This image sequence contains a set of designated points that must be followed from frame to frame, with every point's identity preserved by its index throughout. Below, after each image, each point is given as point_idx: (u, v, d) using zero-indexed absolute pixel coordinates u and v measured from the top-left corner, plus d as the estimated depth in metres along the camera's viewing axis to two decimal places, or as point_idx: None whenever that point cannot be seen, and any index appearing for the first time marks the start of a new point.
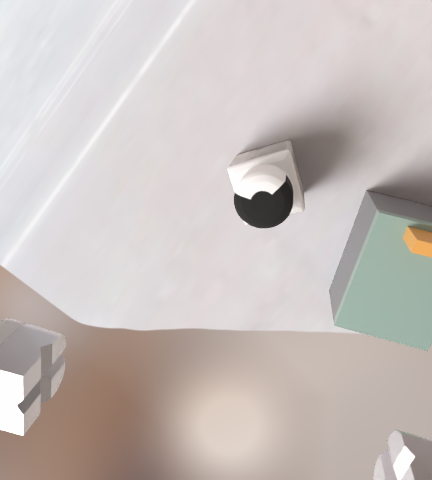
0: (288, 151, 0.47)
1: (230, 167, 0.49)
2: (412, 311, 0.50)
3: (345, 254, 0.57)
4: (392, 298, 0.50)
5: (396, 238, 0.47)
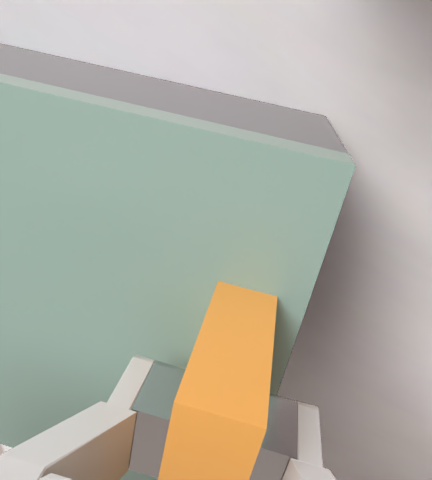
0: None
1: None
2: None
3: (101, 69, 0.16)
4: None
5: (213, 257, 0.10)
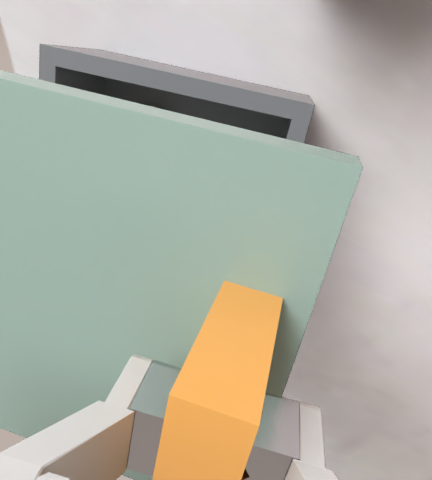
0: None
1: None
2: None
3: (182, 69, 0.29)
4: None
5: (220, 257, 0.10)
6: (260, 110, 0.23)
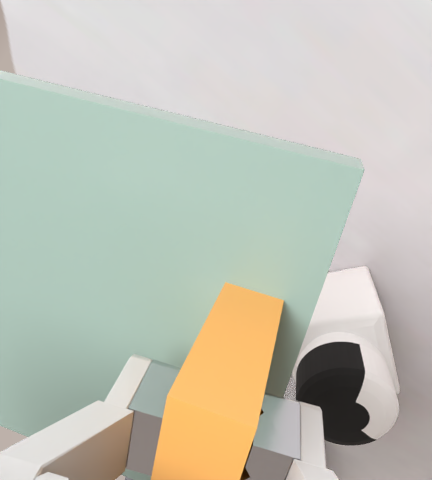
0: (398, 393, 0.31)
1: (383, 316, 0.29)
2: None
3: None
4: None
5: (221, 258, 0.10)
6: None
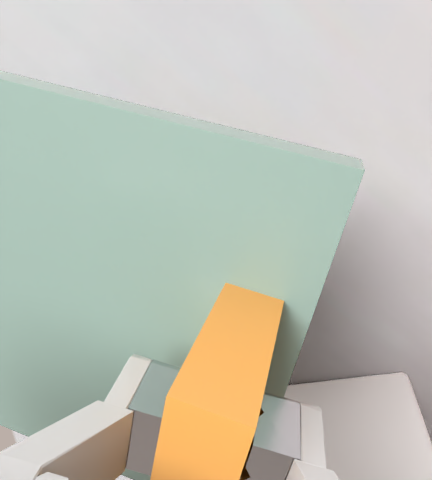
0: None
1: None
2: None
3: None
4: None
5: (221, 259, 0.10)
6: None
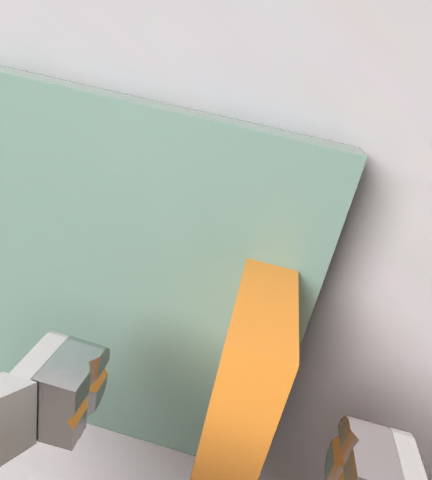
0: None
1: None
2: None
3: None
4: None
5: (243, 237, 0.11)
6: None
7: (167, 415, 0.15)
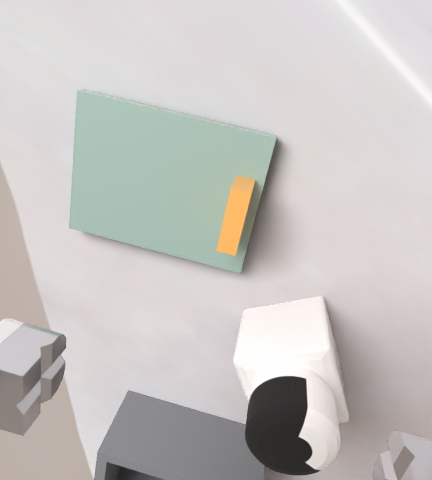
0: (347, 421, 0.33)
1: (330, 350, 0.30)
2: (125, 201, 0.35)
3: (184, 418, 0.44)
4: (140, 173, 0.34)
5: (236, 167, 0.32)
6: None
7: (204, 247, 0.35)
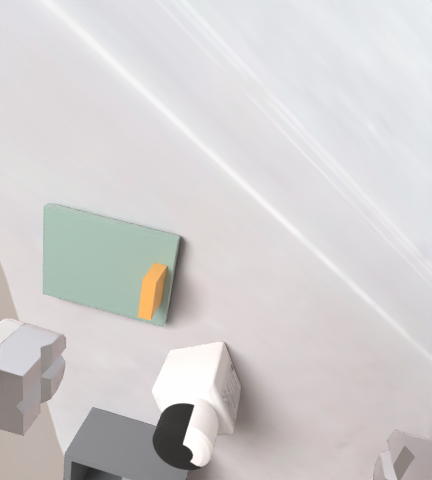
0: (232, 433, 0.47)
1: (213, 385, 0.44)
2: (80, 277, 0.49)
3: (133, 429, 0.58)
4: (89, 259, 0.48)
5: (153, 257, 0.46)
6: None
7: (137, 308, 0.50)
